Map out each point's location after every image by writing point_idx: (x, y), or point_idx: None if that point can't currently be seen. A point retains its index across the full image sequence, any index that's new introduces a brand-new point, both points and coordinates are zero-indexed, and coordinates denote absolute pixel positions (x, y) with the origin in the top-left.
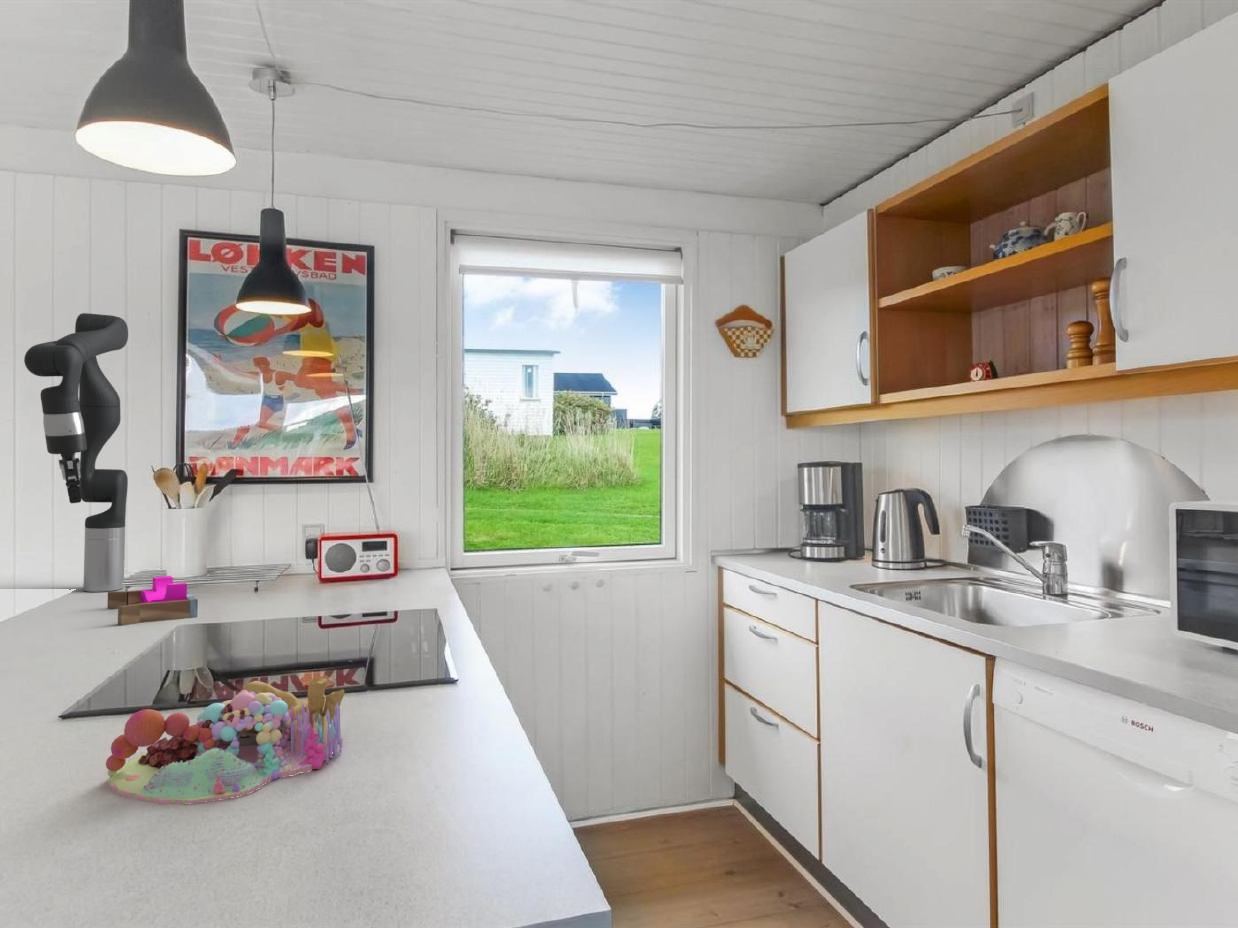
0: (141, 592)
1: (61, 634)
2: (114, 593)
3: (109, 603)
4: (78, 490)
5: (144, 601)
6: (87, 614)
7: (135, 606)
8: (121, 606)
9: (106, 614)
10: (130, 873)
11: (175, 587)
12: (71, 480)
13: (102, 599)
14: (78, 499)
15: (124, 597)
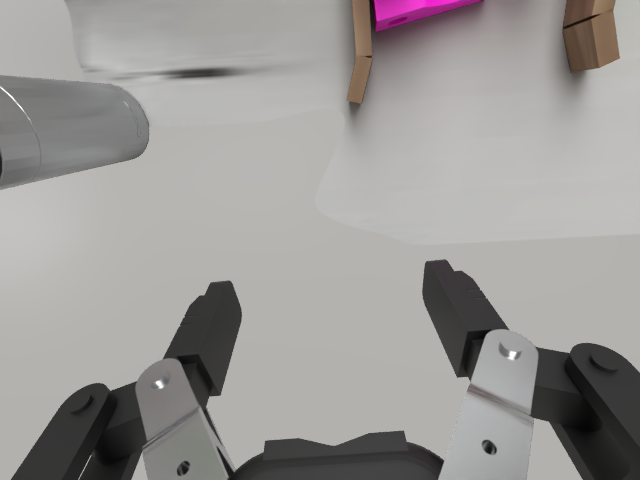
0: (385, 19)
1: (598, 169)
2: (364, 88)
3: (362, 99)
4: (476, 313)
5: (418, 14)
6: (405, 138)
7: (613, 23)
8: (606, 59)
9: (426, 102)
10: None
11: None
12: (204, 382)
13: (238, 119)
14: (465, 276)
15: (370, 66)
